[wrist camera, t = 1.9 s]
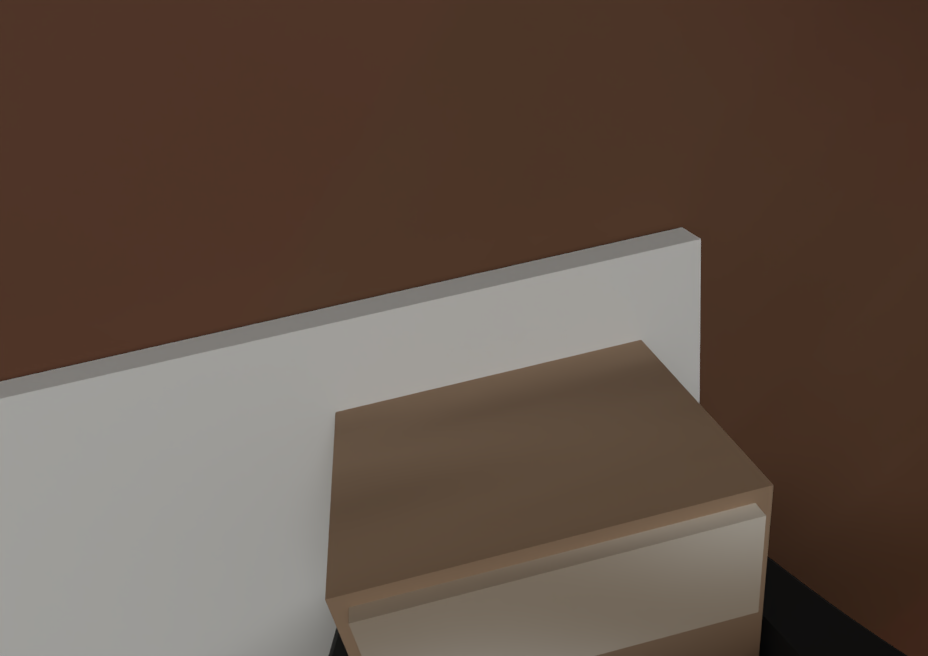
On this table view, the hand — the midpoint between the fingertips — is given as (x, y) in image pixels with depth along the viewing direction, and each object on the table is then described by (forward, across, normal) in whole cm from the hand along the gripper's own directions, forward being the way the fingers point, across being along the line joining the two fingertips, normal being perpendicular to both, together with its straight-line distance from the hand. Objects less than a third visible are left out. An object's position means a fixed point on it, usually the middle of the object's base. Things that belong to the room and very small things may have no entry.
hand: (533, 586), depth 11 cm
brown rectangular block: (+1, 0, 0) cm, 1 cm away
